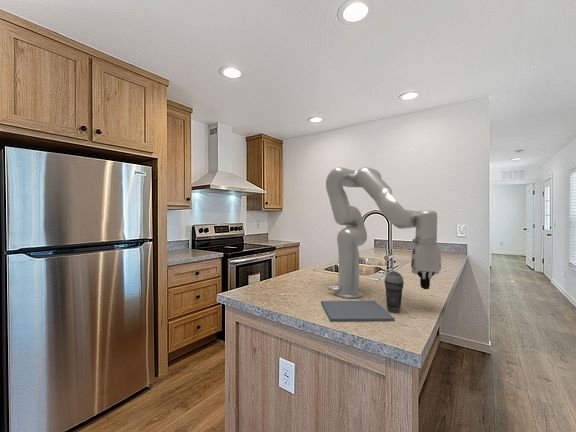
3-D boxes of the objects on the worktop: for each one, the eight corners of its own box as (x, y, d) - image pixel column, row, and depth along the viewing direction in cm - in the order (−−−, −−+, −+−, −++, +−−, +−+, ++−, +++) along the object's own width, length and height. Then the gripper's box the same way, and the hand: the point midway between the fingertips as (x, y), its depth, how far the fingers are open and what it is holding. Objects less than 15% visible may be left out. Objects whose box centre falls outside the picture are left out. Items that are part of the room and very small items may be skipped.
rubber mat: (330, 321, 97) (330, 318, 97) (321, 303, 117) (321, 300, 117) (394, 321, 98) (394, 318, 98) (374, 302, 118) (374, 300, 118)
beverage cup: (393, 315, 103) (394, 262, 103) (379, 309, 110) (380, 259, 110) (407, 313, 106) (408, 261, 106) (393, 307, 113) (394, 258, 113)
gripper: (412, 242, 104) (411, 291, 105) (450, 243, 105) (449, 291, 105) (402, 240, 112) (402, 285, 112) (438, 241, 113) (437, 285, 113)
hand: (424, 288), depth 109 cm, fingers closed
